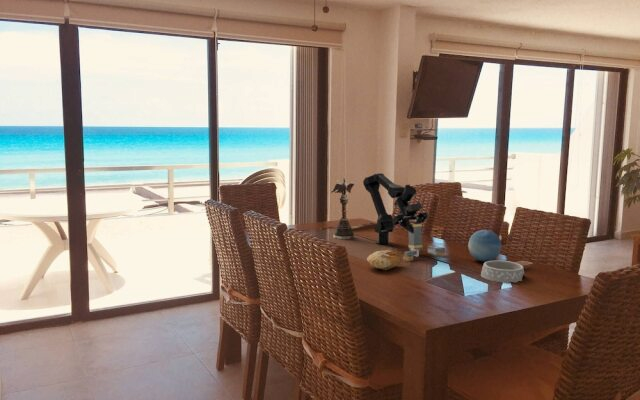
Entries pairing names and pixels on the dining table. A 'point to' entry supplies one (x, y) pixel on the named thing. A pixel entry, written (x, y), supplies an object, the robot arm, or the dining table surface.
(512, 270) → the dog bowl
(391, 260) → the nautilus
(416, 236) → the block
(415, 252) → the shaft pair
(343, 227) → the bird statue
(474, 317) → the dining table surface
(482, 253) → the decorative ball
